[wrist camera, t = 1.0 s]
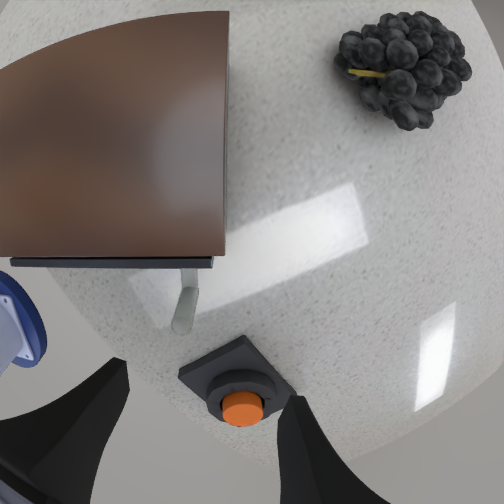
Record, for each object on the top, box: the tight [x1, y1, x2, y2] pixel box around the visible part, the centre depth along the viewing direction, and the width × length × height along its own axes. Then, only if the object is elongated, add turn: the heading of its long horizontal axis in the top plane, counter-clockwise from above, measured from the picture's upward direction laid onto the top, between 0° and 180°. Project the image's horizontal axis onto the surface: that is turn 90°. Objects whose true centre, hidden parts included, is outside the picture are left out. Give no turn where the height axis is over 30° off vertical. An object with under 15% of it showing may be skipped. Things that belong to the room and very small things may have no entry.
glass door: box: [10, 256, 214, 336], centre depth 16 cm, size 5×13×7 cm, turn 89°
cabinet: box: [0, 11, 229, 257], centre depth 14 cm, size 12×14×8 cm
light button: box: [223, 391, 263, 427], centre depth 22 cm, size 4×4×2 cm
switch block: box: [178, 335, 297, 427], centre depth 24 cm, size 10×8×3 cm
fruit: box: [334, 11, 472, 131], centre depth 13 cm, size 9×8×15 cm
